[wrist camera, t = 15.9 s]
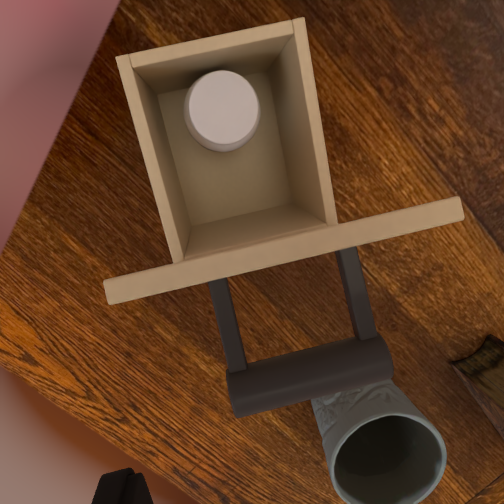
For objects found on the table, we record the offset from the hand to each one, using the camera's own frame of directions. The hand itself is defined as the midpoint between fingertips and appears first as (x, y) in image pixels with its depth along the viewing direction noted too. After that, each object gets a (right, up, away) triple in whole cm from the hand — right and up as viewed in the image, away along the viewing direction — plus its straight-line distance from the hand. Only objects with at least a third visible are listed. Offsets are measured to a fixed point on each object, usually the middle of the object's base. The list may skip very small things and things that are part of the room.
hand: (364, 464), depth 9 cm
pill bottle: (-5, +17, +27) cm, 33 cm away
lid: (-2, +5, +11) cm, 12 cm away
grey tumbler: (+8, -10, +37) cm, 39 cm away
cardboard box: (-5, +14, +29) cm, 32 cm away
